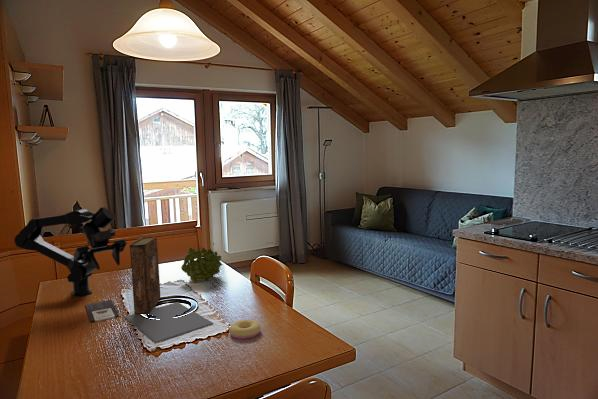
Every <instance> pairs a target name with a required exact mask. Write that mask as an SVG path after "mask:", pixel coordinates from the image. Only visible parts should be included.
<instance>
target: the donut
mask: <svg viewBox="0 0 598 399" xmlns="http://www.w3.org/2000/svg"><path fill="white" fill-rule="evenodd" d="M261 329H262V326H261V324H260V323H259V322H258V321H257V320H253V319H242V320H238V321H235V322H234V323H232V324H231V325H230V326H229V330H228V331H229V334H230V335H231V337H233V338H235V339H239V340H246V339H251V338H254V337H257V336H258V334H260V332H261Z"/></svg>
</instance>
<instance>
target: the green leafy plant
mask: <svg viewBox="0 0 598 399" xmlns="http://www.w3.org/2000/svg"><path fill="white" fill-rule="evenodd" d="M221 260H222V256H221V255H219V254H218V251H213V250H212V248H208V249H206V248H205V247H203V248H202V249H201V247H198V248H197V249H196V250H195V248H194V249H193V248H192V247H189V249H188V251H187V255H185V256H184V258H183V264H182V265H181V267H180V269H181V270H182V271H183V272H184V274H186V276H188V277H189V279H190V281H191V282H192V283H197V282H198V281H199V282H200V281H202V282H204V281H206V280H212V279H214V276H215V275H217V274H219V273H220V268H221V266H223V264H222V262H221Z"/></svg>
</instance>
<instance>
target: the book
mask: <svg viewBox="0 0 598 399" xmlns="http://www.w3.org/2000/svg"><path fill="white" fill-rule="evenodd" d="M158 249H159V248H158V239H157V236H153V237H143V236H141V237H139V238H138V239H136V240H135V241H133V242H131V243H130V244H129V254H130V268H131V279H132V281H131V282H132V298H133V310H134V311H133V314H138V315H140V314H148V313H150V312H151V311H152V309H154V308H156V307H155V306H157V304H158V303H159V302H160V300H159V299H161V283H160V280H161V279H160V266H159V250H158Z"/></svg>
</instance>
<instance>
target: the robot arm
mask: <svg viewBox="0 0 598 399" xmlns="http://www.w3.org/2000/svg"><path fill="white" fill-rule="evenodd" d="M115 220H116V214H115V213H114V212H113V211H112V210H110V209H108V208H107V207H105V206H102V207H100V208H99V209H98V210H97V211H96V212H91V211H89V210H88V209H87V208H81V209H76V210H73V211H69V212H67V213H64V214H57V215H50V216H43V217H35V218H31V219H30V220H29V221H28V223H27V225H25V226H24V227H23V228H22V229H21V230H20V231H19V233H18V234H16V235H15V237H14V239H13V240H14V245H15V246H16V247H17V248H18V249H19V248H20V249H23V250H26V251H35V252H37V253H39V254H41V255H43V256H45V257H47V258H49V259H51V260H52V261H54V262H56V263H59V264H61V265H63V266H65V267H66V268H67V269H68V270H69V273H70V274H68V275H67V276H66V279H67V281H68V283H72V290H73V291H72V290H71V292H70V294H71V295H72V296H73V297H75V298H76V297H80V296H81V297H82V296H85V295H91V294H93V291H91V289H90V285H89V283H90V282H89V277H92V275H93V272H94V271H95V269H96V270H97V271H100V270H101V268H100V267H101V266H100V264H99V263H98V261H97V259H96V257H95V254H97V253H103V252H106V251H107V252H108V251H111V252H112V253H111V256H112V259H113V261H114V262H115V263H116V265H117V266H120V265H121V263H120V262H121V261H120V253H122V252H124V250H125V249H126V246H127V244H128V243H127V240H125V239H124V238H121V239H115V240H114V241H113V242H112V244H109V243H110V239H112V238H114V237H115V236H116V231H115V229H114V228H109V229H107V230H103V231H102V229H105V228H107V227H108V226H109V225H110V224H111V223H112V222H113V221H115ZM82 224H83V225H82ZM58 225H70V226H79V225H81V226H80V228H79V229H78V231H77V232H78V233H80V234H84V235H85V237H86V239H87V245H82V246H77V247H76V249H75V251H74V253H73V255H72V254H71V253H68V252H66V251H65V250H62V249H60V248H59V247H57V246H54V245H52V244H51V243H49V242H47V241H45V239H43V236H41V234H42V232H43V227H45V228H46V227H50V226H58ZM88 245H89V246H90V247H89V246H88Z"/></svg>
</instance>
